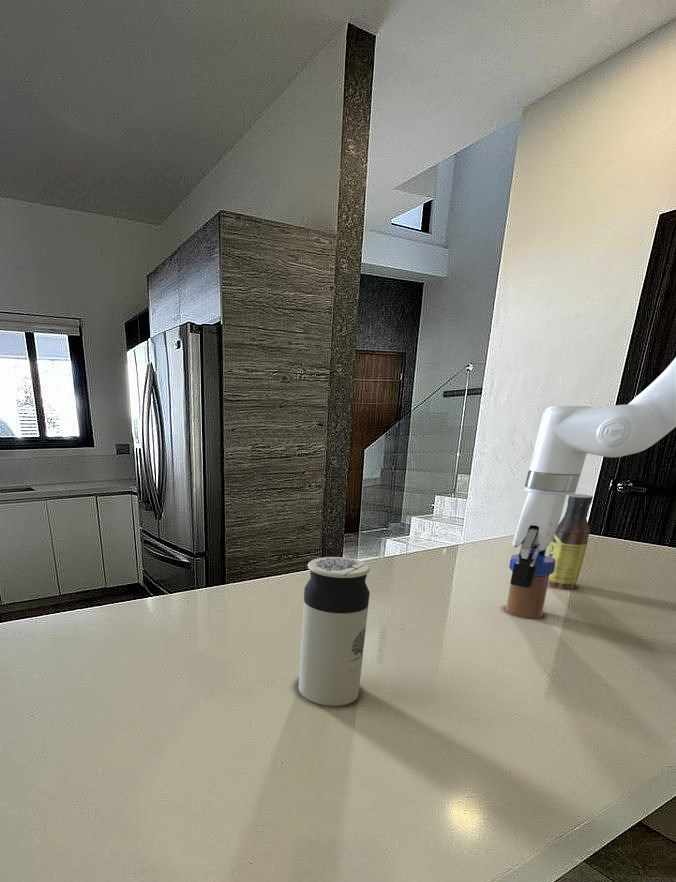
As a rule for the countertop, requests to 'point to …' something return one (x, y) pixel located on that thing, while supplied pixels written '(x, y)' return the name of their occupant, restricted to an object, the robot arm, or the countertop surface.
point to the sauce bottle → (570, 542)
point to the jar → (528, 598)
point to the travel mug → (333, 630)
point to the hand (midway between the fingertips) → (525, 580)
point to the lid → (538, 564)
